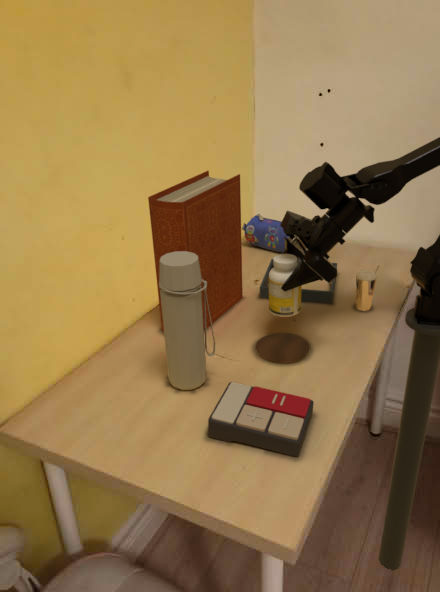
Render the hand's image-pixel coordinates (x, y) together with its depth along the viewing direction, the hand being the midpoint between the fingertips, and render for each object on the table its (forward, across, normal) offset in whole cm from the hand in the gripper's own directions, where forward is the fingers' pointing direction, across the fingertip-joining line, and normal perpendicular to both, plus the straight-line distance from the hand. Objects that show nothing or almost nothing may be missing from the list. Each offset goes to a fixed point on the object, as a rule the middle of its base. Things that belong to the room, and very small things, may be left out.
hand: (278, 282), depth 107 cm
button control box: (+16, +26, +3) cm, 30 cm away
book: (+20, -14, 0) cm, 24 cm away
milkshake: (-6, -10, +26) cm, 29 cm away
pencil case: (+1, -48, +19) cm, 51 cm away
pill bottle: (+4, 0, +6) cm, 7 cm away
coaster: (+9, +3, +10) cm, 14 cm away
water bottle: (+23, +10, -4) cm, 26 cm away
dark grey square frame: (+1, -24, +18) cm, 30 cm away
